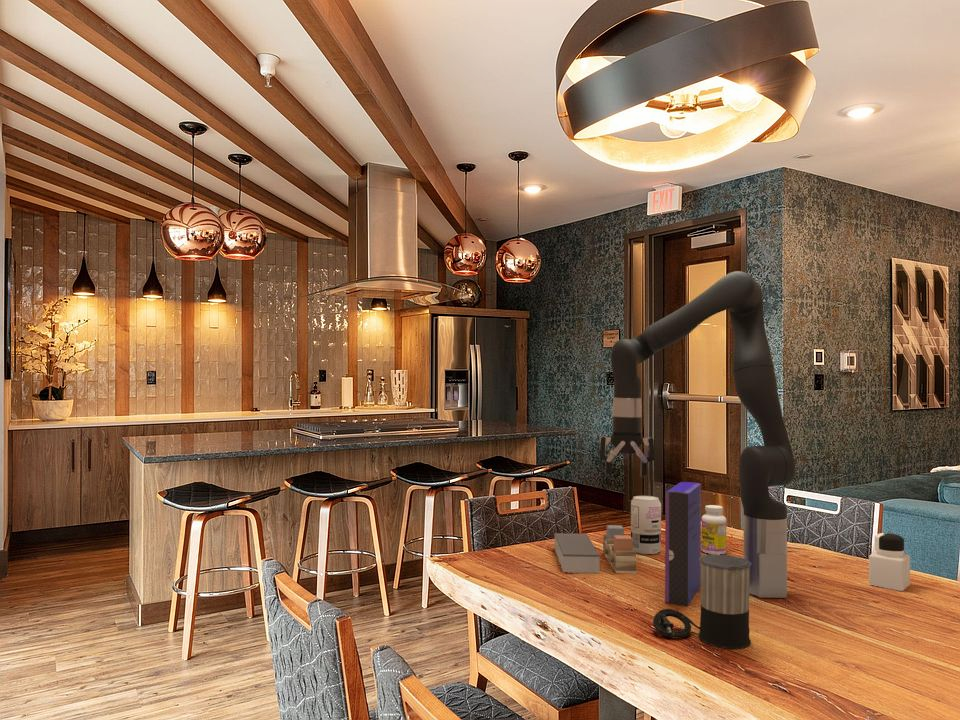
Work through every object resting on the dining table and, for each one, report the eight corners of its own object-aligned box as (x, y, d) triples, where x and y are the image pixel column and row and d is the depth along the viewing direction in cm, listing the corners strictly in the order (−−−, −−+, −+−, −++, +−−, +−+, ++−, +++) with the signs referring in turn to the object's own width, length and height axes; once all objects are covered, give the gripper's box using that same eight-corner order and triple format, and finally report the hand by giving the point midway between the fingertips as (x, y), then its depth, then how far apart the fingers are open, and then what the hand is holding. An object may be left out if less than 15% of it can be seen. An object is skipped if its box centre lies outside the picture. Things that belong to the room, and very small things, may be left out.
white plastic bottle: (910, 585, 167) (910, 534, 168) (903, 591, 162) (902, 539, 162) (876, 579, 172) (876, 529, 173) (868, 585, 167) (868, 534, 167)
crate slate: (623, 543, 189) (624, 528, 189) (609, 543, 189) (609, 528, 190) (621, 540, 193) (621, 525, 193) (606, 540, 193) (606, 525, 193)
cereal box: (680, 582, 168) (680, 481, 168) (700, 585, 166) (701, 482, 166) (665, 603, 152) (665, 491, 153) (687, 606, 150) (688, 493, 151)
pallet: (636, 575, 175) (636, 551, 175) (616, 574, 175) (616, 551, 175) (621, 555, 195) (621, 534, 195) (603, 554, 195) (603, 534, 195)
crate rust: (632, 554, 177) (632, 538, 177) (616, 554, 177) (616, 538, 177) (629, 550, 181) (629, 535, 181) (613, 550, 181) (613, 535, 181)
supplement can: (637, 546, 204) (637, 494, 204) (665, 551, 199) (665, 497, 199) (626, 552, 197) (626, 498, 198) (654, 556, 192) (654, 501, 193)
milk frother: (762, 647, 127) (762, 564, 128) (686, 656, 123) (686, 570, 123) (714, 621, 141) (715, 546, 142) (644, 628, 137) (644, 551, 137)
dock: (599, 573, 175) (599, 554, 175) (563, 572, 175) (563, 554, 176) (586, 549, 199) (586, 533, 199) (554, 549, 199) (554, 533, 200)
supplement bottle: (696, 550, 199) (696, 505, 200) (714, 548, 202) (714, 503, 202) (713, 556, 193) (713, 509, 194) (731, 554, 196) (731, 507, 196)
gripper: (601, 415, 183) (600, 478, 183) (657, 416, 182) (656, 479, 182) (598, 413, 190) (597, 473, 190) (651, 414, 190) (650, 475, 189)
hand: (625, 476), depth 186 cm, fingers open, 8 cm apart
